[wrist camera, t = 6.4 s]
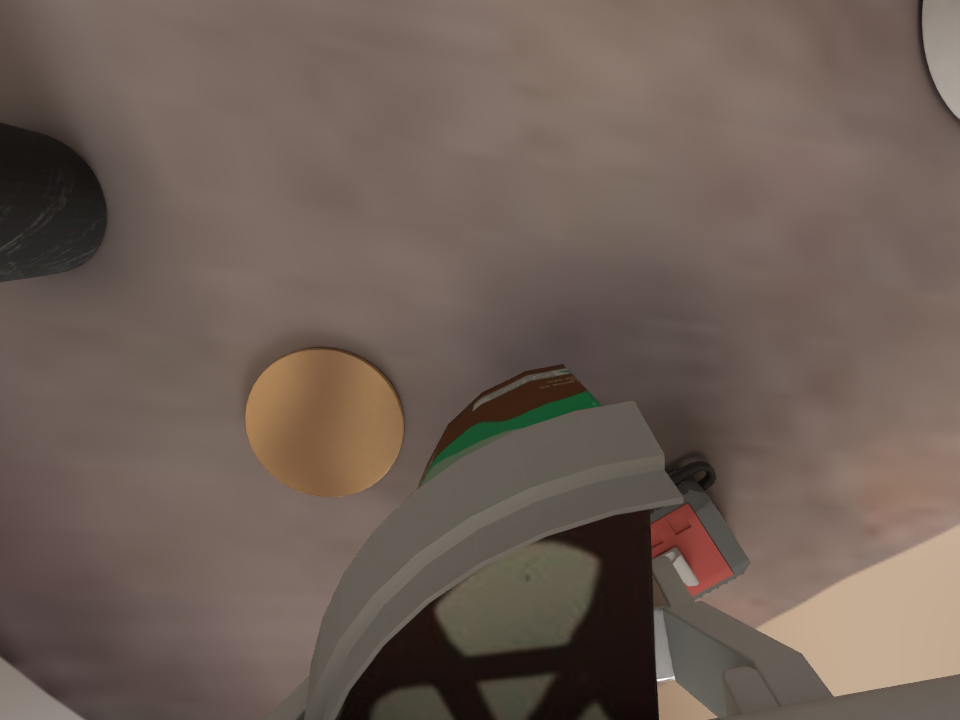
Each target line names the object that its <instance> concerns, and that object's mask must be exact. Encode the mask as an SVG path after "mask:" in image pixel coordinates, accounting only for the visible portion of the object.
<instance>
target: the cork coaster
mask: <svg viewBox="0 0 960 720" xmlns="http://www.w3.org/2000/svg"><path fill="white" fill-rule="evenodd" d="M245 424H246V431H247V435H248V439H249V442H250V445H251V447H252V449H253V451H254V453H255V455H256V456H257V458H258V460H259V461H260V462H261V464H262V465H263V466H264V467H265V469H266V470H267V471H268V472H269V473H271V474H272V475H273V476H274V477H275V478H276V479H278V480H279V481H280V482H282V483H284V484H285V485H287V486H288V487H291V488H293V489H295V490H297V491H300V492H303V493H306V494H309V495H314V496H321V497H339V496H346V495H350V494H353V493H357V492H359V491H362V490H364V489H366V488H368V487H370V486H371V485H373V484H374V483H376V482H377V481H378V480H380V479H381V478H382V477H383V476H384V475H385V474H386V473H387V472H388V471H389V469H390V468H391V466H392V465H393V464H394V462H395V460H396V458H397V456H398V454H399V451H400V448H401V446H402V442H403V437H404V427H405V424H404V414H403V409H402V405H401V403H400V400H399V397H398V395H397V393H396V391H395V389H394V387H393V386H392V385H391V383H390V382H389V380H388V379H387V378H386V377H385V376H384V375H383V373H382V372H381V371H380V370H378V369H377V368H376V367H375V366H374V365H372V364H371V363H369V362H368V361H366V360H365V359H363V358H361V357H359V356H357V355H355V354H353V353H350V352H347V351H344V350H340V349H335V348H327V347H314V348H307V349H302V350H298V351H295V352H292V353H290V354H288V355H285V356H283V357H282V358H280V359H279V360H277V361H275V362H274V363H272V364H271V365H270V366H269V367H268V368H267V369H265V370H264V372H263V373H262V374H261V375H260V376H259V377H258V379H257V380H256V382H255V384H254V385H253V387H252V389H251V392H250V394H249V397H248V400H247V404H246V412H245Z"/></svg>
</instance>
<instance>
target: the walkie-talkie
mask: <svg viewBox="0 0 960 720" xmlns="http://www.w3.org/2000/svg"><path fill="white" fill-rule="evenodd" d="M699 471H706V475H705V476H704V478H703V479H701V480H700V481H698V482H696V480H695V479H694V478H693V477H692V476H691V475H692V474H694V473H696V472H699ZM668 476H669V477H670V479H671V480H672V481H673V483H674V484H675V486H676V487H677V489H678V490H679V492H680V493H681V494H682V496H683V503H682V504H677V505H671V506H665V507H659V508H653V509H650V521H651V546H652V559H653V558H658V557H662V556H668V557H669V558H670V560H671V561H672V563H673V565H674V567H675V568H676V570H677V572H678V574H679V575H680V577H681V579H682V580H683V582H684V584H685V586H686V587H687V589H688V591H689V593H690V594H691V596H692V598H693V599H694V600H695V599H697V598H699V597H700V598H701V597H702V596H703V595H704V594H706V593H710V592H711V591H712V590H714V589H715V588H719V586H721V585H723V584H726V583H728V581H730V580H732V579H735V578H736V577H737V576H739V575H741V574H742V575H743V574H744V572H745V570H746V569H747V567H748V565H749V564H750V561H749V559H748V558H747V556H746V554H745V553H744V551H743V550H742V548H741V546H740V545H739V543H738V542H737V540H736V538H735V537H734V535H733V534H732V532H731V530H730V529H729V527H728V526H727V524H726V523H725V521H724V519H723V518H722V516H721V515H720V513H719V511H718V510H717V508H716V507H715V505H714V503H713V502H712V500H711V499H710V497H709V496H708V495H707V493H706V492H705V490H707V489H708V488H710V487H711V486H712V485H713V484H714V482H715V480H716V475H715V471H714V468H712V467H711V465H710V464H708V463H707V462H704V461H697V462H693V463H689V464H688V465H686V466H684V467H682V468H681V469H679V470H673V471H672V472H670V473H669V474H668Z"/></svg>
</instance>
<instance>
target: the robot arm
mask: <svg viewBox="0 0 960 720" xmlns="http://www.w3.org/2000/svg"><path fill="white" fill-rule="evenodd" d="M922 33H923V43H924V50H925V55H926V60H927V63H928V67H929V70H930V73H931V76H932V79H933V81H934V83H935V85H936V88H937V90H938V91H939V93H940V95H941V97H942V98H943V100H944V101H945V103H946V104H947V106H948V107H949V108H950V110H951V111H952V112H953V113H954V114H955V116H956V117H957V118H959V119H960V0H923V9H922ZM652 574H653V604H654V633H655V658H656V675H657V682H659V681H666V680H672V679H675V681H676V682H677V683H679V684H680V685H681V686H682V687H683V688H684V689H685V690H687V691H688V692H689V693H690V694H691V695H693V696H694V697H695V698H696V699H697V700H698V701H700V702H701V703H702V704H703V705H704V706H706V707H707V708H708V709H709V710H710V711H711V712H713V713H714V714H715V715H716V716H717V717H718V718H715V719H710V720H960V674H958V675H953V676H947V677H942V678H936V679H931V680H925V681H920V682H914V683H908V684H903V685H898V686H892V687H887V688H881V689H875V690H870V691H865V692H859V693H853V694H847V695H842V696H836V697H834V696H833V695H832V694H831V692H830V691H829V690H828V688H827V687H826V686H825V684H824V683H823V682H822V681H821V679H820V678H819V676H818V675H817V674H816V672H815V671H814V670H813V668H812V667H811V666H810V664H809V663H808V662H807V660H806V659H805V658H804V656H803V655H802V654H801V653H799V652H797V651H795V650H794V649H792V648H790V647H788V646H786V645H784V644H782V643H780V642H778V641H776V640H774V639H773V638H771V637H769V636H767V635H765V634H763V633H761V632H759V631H757V630H756V629H754V628H752V627H750V626H748V625H746V624H744V623H742V622H740V621H738V620H737V619H735V618H733V617H731V616H729V615H727V614H725V613H723V612H721V611H719V610H718V609H716V608H714V607H712V606H710V605H708V604H706V603H704V602H702V601H698V602H695V601H694V599H693V598H692V596H691V594H690V593H689V591H688V589H687V587H686V586H685V584H684V582H683V580H682V579H681V577H680V575H679V574H678V572H677V570H676V568H675V567H674V565H673V563H672V561H671V560H670V558H669V557H668V556H662V557H658V558H653V559H652ZM308 685H309V677H308V678H307V679H306V680H305V681H304V682H302V683H301V684H300V685H299V686H298V687H297V688H296V689H295V690H294V691H293V692H292V693H291V694H290V695H289V696H288V697H287V698H286V699H285V700H284V701H283V702H282V703H281V704H280V705H279V706H278V707H277V708H276V709H275V710H274V711H273V712H272V713H271V714H270V715H269V716H268V717H266V718H265V719H264V720H304V717H305V709H306V701H307V693H308Z"/></svg>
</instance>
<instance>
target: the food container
mask: <svg viewBox="0 0 960 720" xmlns="http://www.w3.org/2000/svg"><path fill="white" fill-rule="evenodd" d="M664 469H665V455H664V453H663V451H662V449H661V448H660V446H659V444H658V442H657V441H656V439H655V437H654V435H653V433H652V432H651V430H650V428H649V426H648V425H647V423H646V421H645V419H644V418H643V416H642V414H641V412H640V410H639V409H638V407H637V405H636V403H635V402H634V400H633V401H627V402H622V403H616V404H611V405H605V406H602V405H601V404H600V403H599V402H598V401H597V400H596V399H595V398H594V397H593V395H592V394H591V393H590V392H589V391H588V390H587V389H586V388H585V387H584V386H583V385H582V384H581V383H580V382H579V381H578V380H577V379H576V378H575V376H574V375H573V374H572V373H571V372H570V371H569V370H568V369H567V368H566V367H565V366H564V365H563V364H561V365H556V366H551V367H545V368H540V369H535V370H530V371H525V372H523V373H521V374H519V375H517V376H515V377H513V378H511V379H509V380H507V381H505V382H503V383H501V384H499V385H497V386H494V387H492V388H490V389H488V390H486V391H484V392H482V393H481V394H480V395H479V396H478V397H477V398H476V399H475V400H474V401H473V402H471V403H470V404H469V405H468V406H467V407H466V408H465V409H464V410H463V411H462V412H461V413H460V414H459V415H458V416H457V417H456V418H455V419H453V420H452V421H451V422H450V423H449V424H448V426H447V428H446V430H445V431H444V433H443V435H442V437H441V439H440V441H439V443H438V445H437V447H436V448H435V450H434V452H433V454H432V456H431V458H430V460H429V462H428V464H427V466H426V469H425V471H424V473H423V476H422V478H421V481H420V483H419V485H418V488H417V490H416V491H414V492H413V493H412V494H411V495H410V496H409V497H408V498H407V499H406V500H405V501H404V502H403V503H402V504H401V505H400V506H399V507H398V508H397V509H396V510H395V511H394V512H393V513H392V514H391V515H390V516H389V517H388V518H387V519H386V520H385V521H384V522H383V523H382V524H381V525H380V526H379V527H378V528H377V529H376V530H375V531H374V532H373V533H372V535H371V536H370V537H369V539H368V540H367V542H366V543H365V544H364V546H363V547H362V549H361V550H360V551H359V553H358V554H357V556H356V557H355V558H354V560H353V561H352V563H351V564H350V565H349V567H348V568H347V570H346V571H345V572H344V574H343V576H342V578H341V580H340V582H339V585H338V587H337V589H336V591H335V593H334V595H333V597H332V599H331V602H330V604H329V606H328V608H327V610H326V612H325V614H324V616H323V619H322V623H321V627H320V631H319V635H318V638H317V642H316V646H315V650H314V654H313V658H312V662H311V669H310V677H309V685H308V693H307V701H306V709H305V717H304V720H659V713H658V693H657V675H656V658H655V633H654V604H653V574H652V546H651V521H650V509H653V508H659V507H665V506H671V505H677V504H682V503H683V496H682V494H681V493H680V492H679V490H678V489H677V487H676V486H675V484H674V483H673V481H672V480H671V479H670V477H669V476H668V474H667V473H666V471H665V470H664Z"/></svg>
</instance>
